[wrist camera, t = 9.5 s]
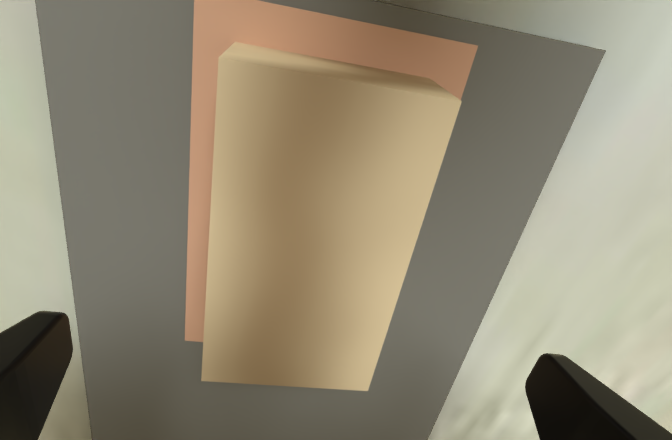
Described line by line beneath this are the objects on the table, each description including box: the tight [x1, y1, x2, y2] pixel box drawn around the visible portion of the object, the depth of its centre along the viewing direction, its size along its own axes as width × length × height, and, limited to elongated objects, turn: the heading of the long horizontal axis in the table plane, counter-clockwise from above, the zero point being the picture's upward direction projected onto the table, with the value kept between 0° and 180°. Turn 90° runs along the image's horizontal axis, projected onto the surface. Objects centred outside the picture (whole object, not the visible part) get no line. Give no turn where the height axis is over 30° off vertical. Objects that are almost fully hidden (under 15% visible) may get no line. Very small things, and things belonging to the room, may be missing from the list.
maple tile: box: [201, 42, 462, 391], centre depth 12 cm, size 5×9×2 cm, turn 169°
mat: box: [35, 0, 606, 440], centre depth 15 cm, size 20×14×1 cm
